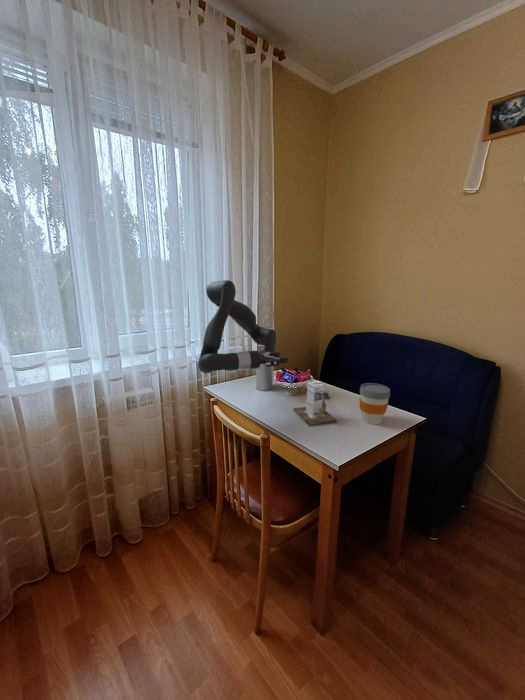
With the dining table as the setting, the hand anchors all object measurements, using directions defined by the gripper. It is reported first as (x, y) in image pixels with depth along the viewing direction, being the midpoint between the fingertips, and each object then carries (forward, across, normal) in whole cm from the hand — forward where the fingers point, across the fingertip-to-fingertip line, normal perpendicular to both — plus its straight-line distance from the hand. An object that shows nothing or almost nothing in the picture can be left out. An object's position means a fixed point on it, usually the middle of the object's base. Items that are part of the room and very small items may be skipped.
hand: (283, 357), depth 137 cm
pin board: (+13, -7, +27) cm, 31 cm away
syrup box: (+13, -7, +26) cm, 30 cm away
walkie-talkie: (+26, +12, +28) cm, 40 cm away
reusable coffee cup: (+36, -17, +27) cm, 48 cm away
